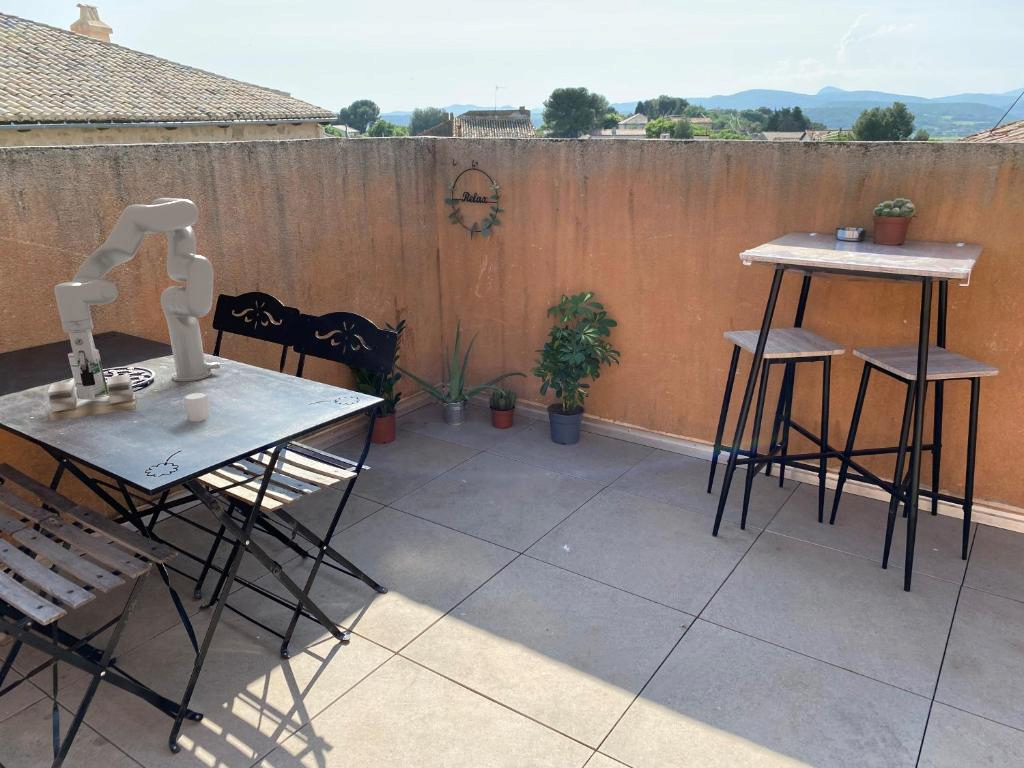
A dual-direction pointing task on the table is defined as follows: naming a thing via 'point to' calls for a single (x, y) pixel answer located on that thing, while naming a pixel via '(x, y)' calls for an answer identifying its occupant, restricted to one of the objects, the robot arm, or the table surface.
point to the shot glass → (197, 406)
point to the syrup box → (100, 383)
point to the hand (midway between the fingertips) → (90, 380)
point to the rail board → (70, 407)
